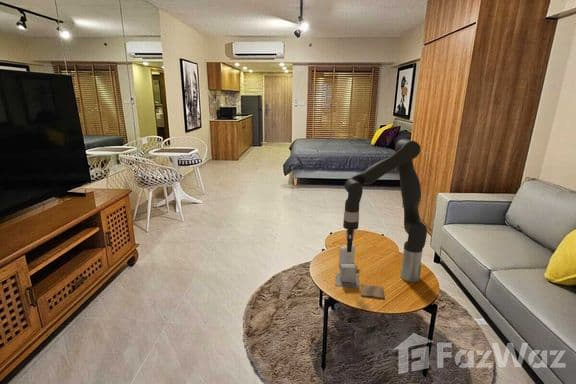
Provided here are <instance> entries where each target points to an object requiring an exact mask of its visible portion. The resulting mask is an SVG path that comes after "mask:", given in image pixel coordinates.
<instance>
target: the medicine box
mask: <svg viewBox="0 0 576 384" xmlns="http://www.w3.org/2000/svg"><path fill="white" fill-rule="evenodd" d="M357 269H358V268H357V267H356V264H355V263H352V264H340V265H339V274H340V281H341V282H356V275H357Z"/></svg>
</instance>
